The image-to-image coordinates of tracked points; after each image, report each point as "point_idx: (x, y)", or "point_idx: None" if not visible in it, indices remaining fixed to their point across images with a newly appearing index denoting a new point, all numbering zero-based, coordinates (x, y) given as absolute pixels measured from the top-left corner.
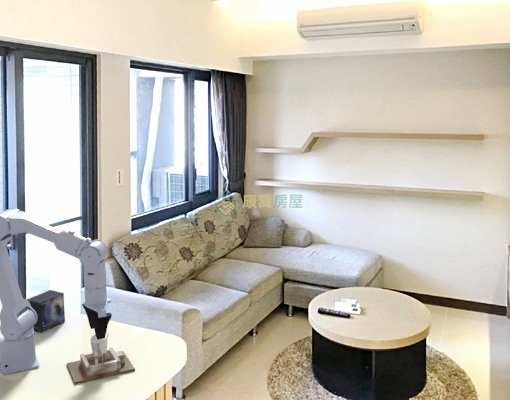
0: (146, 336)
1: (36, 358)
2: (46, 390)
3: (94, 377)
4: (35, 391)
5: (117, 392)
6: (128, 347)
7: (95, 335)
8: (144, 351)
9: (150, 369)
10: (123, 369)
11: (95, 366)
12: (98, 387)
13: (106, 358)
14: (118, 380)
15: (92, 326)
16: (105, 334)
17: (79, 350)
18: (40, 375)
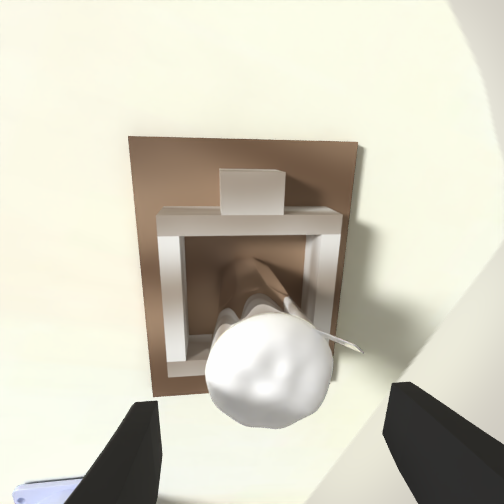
0: None
1: (58, 487)
2: (313, 452)
3: (334, 319)
4: (301, 476)
5: (469, 258)
6: (61, 82)
7: (257, 411)
8: (159, 4)
9: (384, 62)
10: (335, 195)
11: (329, 332)
12: (393, 311)
13: (256, 266)
14: (390, 234)
15: (156, 466)
16: (439, 402)
17: (13, 331)
18: (198, 466)
